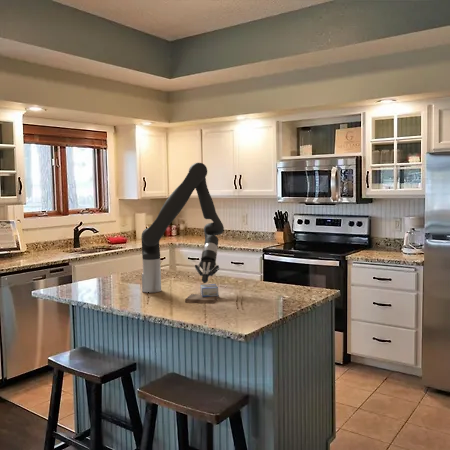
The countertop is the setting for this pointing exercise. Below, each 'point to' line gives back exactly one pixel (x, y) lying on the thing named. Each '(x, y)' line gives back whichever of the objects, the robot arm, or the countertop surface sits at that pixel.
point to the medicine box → (209, 290)
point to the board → (201, 299)
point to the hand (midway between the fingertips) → (204, 282)
